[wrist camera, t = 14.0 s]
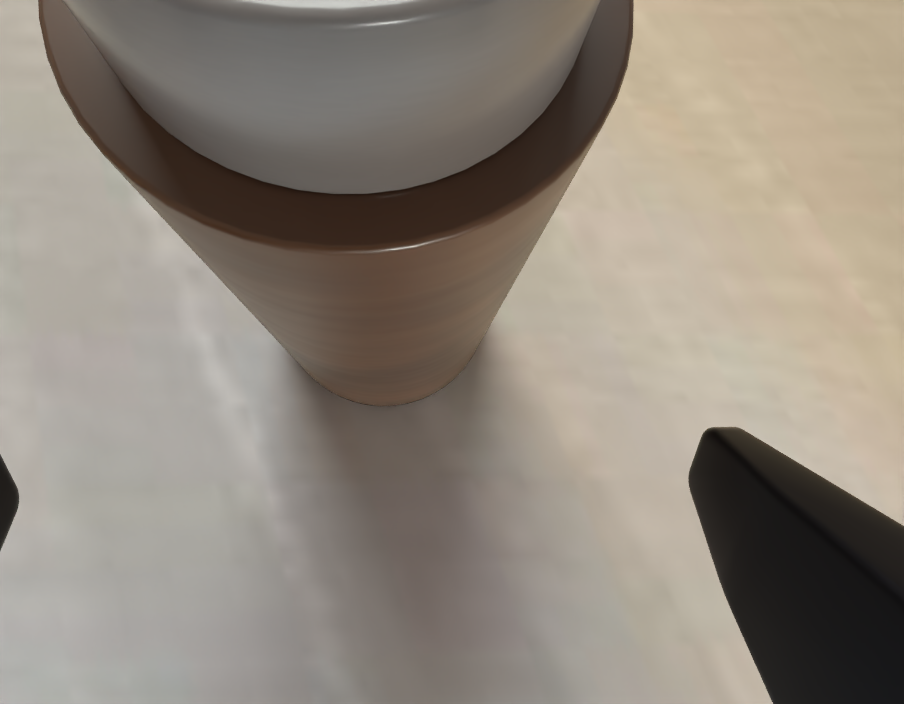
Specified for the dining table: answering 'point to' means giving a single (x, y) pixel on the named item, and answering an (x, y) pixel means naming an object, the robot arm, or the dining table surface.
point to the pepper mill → (350, 155)
